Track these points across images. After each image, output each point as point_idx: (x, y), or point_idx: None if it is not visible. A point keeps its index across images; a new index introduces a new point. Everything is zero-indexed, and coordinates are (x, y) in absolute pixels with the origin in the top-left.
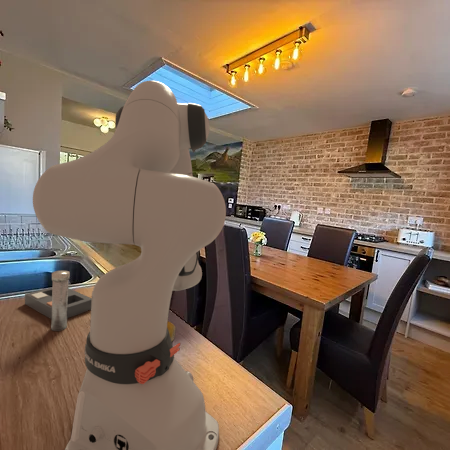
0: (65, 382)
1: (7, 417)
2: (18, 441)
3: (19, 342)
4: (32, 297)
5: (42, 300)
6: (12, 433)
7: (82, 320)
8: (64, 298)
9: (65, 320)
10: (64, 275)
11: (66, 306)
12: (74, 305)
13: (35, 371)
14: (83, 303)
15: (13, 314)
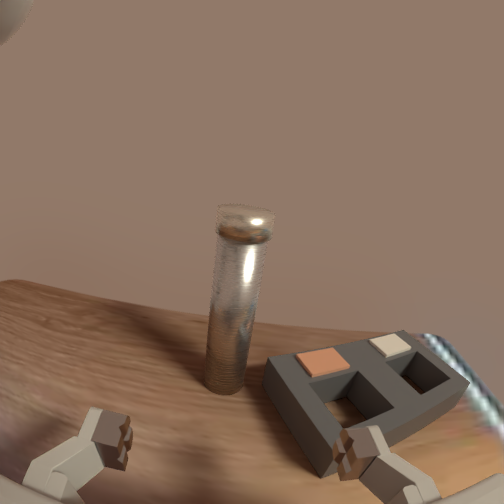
0: (25, 323)
1: (40, 285)
2: (7, 281)
3: (201, 327)
4: (381, 336)
5: (358, 347)
6: (19, 281)
7: (235, 433)
8: (213, 299)
9: (209, 369)
10: (217, 210)
11: (214, 333)
12: (294, 397)
13: (86, 316)
14: (311, 425)
15: (342, 338)
